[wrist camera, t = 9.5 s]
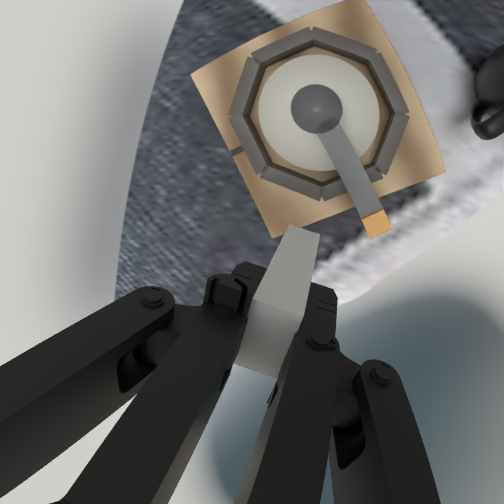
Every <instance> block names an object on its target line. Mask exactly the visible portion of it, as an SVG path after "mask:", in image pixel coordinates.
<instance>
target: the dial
mask: <svg viewBox="0 0 504 504" xmlns="http://www.w3.org/2000/svg"><path fill="white" fill-rule="evenodd" d="M258 113H259V121H260V125H261V129H262V131H263V134H264V136H265V138H266V140H267V141H268V143H269V144H270V146H271V147H272V148H273V149H274V150H275V151H276V153H278V154H279V155H280V156H281V157H282V158H284V159H285V160H287V161H288V162H290V163H292V164H294V165H296V166H298V167H301V168H304V169H308V170H314V171H330V170H335V169H336V170H337V172H338V173H339V175H340V177H341V179H342V181H343V183H344V185H345V187H346V189H347V191H348V193H349V195H350V197H351V199H352V201H353V203H354V205H355V207H356V209H357V211H358V213H359V215H360V217H361V219H362V222H363V224H364V226H365V228H366V230H367V232H368V235H369V237H370V239H371V238H373V237H376V236H378V235H380V234H382V233H384V232H386V231H388V230H391V229H392V228H391V225H390V223H389V221H388V218H387V216H386V214H385V211H384V209H383V207H382V205H381V203H380V201H379V199H378V196H377V194H376V192H375V190H374V188H373V186H372V184H371V182H370V180H369V178H368V176H367V174H366V172H365V170H364V168H363V166H362V164H361V162H360V160H359V158H360V157H361V156H362V155H363V154H364V153H365V152H366V151H367V150H368V148H369V147H370V146H371V144H372V142H373V140H374V138H375V136H376V133H377V130H378V125H379V105H378V101H377V98H376V95H375V92H374V90H373V88H372V86H371V85H370V83H369V82H368V80H367V79H366V78H365V77H364V75H363V74H362V73H361V72H360V71H358V70H357V69H356V68H355V67H353V66H352V65H350V64H349V63H347V62H345V61H343V60H341V59H338V58H335V57H332V56H327V55H306V56H301V57H298V58H294V59H292V60H290V61H288V62H286V63H285V64H283V65H281V66H280V67H279V68H278V69H277V70H275V71H274V72H273V74H272V75H271V76H270V77H269V79H268V80H267V82H266V83H265V85H264V87H263V89H262V92H261V95H260V100H259V108H258Z"/></svg>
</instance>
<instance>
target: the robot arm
mask: <svg viewBox="0 0 504 504" xmlns="http://www.w3.org/2000/svg"><path fill="white" fill-rule="evenodd" d="M319 238H320V234H317V233H314V232H311V231H308V230H305V229H302V228H299V227H296V226H293V225H290V224H289V226H288V228H287V230H286V232H285V234H284V236H283V238H282V240H281V242H280V244H279V246H278V248H277V250H276V252H275V254H274V256H273V258H272V260H271V262H270V265H269V267H268V269H267V268H264V267H261V266H258V265H255V264H252V263H249V262H243V263H241V264H239V265H237V266H236V267H235V269H234V270H233V272H232V273H231V274H216V275H212V276H211V277H209V278H208V279H207V284H206V290H205V296H204V302H203V303H202V305H201V306H186V305H179V304H175V299H174V297H173V295H172V294H171V293H170V292H169V291H168V290H165V289H163V288H161V287H155V286H145V287H141V288H138V289H136V290H134V291H132V292H131V293H129V294H127V295H125V296H123V297H122V298H120V299H118V300H116V301H114V302H112V303H111V304H109V305H107V306H105V307H103V308H102V309H100V310H98V311H96V312H94V313H93V314H91V315H89V316H87V317H86V318H84V319H82V320H80V321H78V322H77V323H75V324H73V325H71V326H69V327H68V328H66V329H64V330H62V331H61V332H59V333H57V334H55V335H53V336H52V337H50V338H48V339H46V340H45V341H43V342H41V343H39V344H38V345H36V346H35V347H33V348H31V349H29V350H27V351H26V352H24V353H22V354H21V355H19V356H17V357H15V358H14V359H12V360H10V361H8V362H7V363H5V364H3V365H2V366H0V498H1V497H3V496H4V495H6V494H7V493H8V492H10V491H11V490H13V489H14V488H16V487H17V486H18V485H20V484H21V483H22V482H24V481H25V480H27V479H28V478H29V477H31V476H32V475H33V474H35V473H36V472H37V471H39V470H40V469H41V468H43V467H44V466H45V465H47V464H48V463H49V462H51V461H52V460H53V459H55V458H56V457H57V456H59V455H60V454H61V453H63V452H64V451H65V450H66V449H68V448H69V447H71V446H72V445H73V444H74V443H76V442H77V441H78V440H80V439H81V438H82V437H83V436H85V435H86V434H87V433H88V432H90V431H91V430H92V429H94V428H95V427H96V426H97V425H99V424H100V423H101V422H102V421H104V420H105V419H106V418H108V417H109V416H110V415H111V414H113V413H114V412H115V411H116V410H118V409H119V408H120V407H121V406H123V405H124V404H125V403H126V402H127V401H129V400H130V399H131V398H133V397H134V396H135V395H136V394H137V395H136V396H135V398H134V399H133V400H132V402H131V403H130V405H129V406H128V407H127V409H126V411H125V412H124V413H123V414H122V416H121V417H120V419H119V420H118V422H117V423H116V424H115V426H114V427H113V429H112V430H111V431H110V433H109V434H108V436H107V437H106V438H105V440H104V441H103V443H102V444H101V446H100V447H99V449H98V450H97V451H96V453H95V454H94V456H93V457H92V458H91V460H90V461H89V463H88V464H87V465H86V467H85V468H84V470H83V471H82V473H81V474H80V476H79V477H78V478H77V480H76V481H75V483H74V484H73V486H72V487H71V488H70V490H69V491H68V493H67V494H66V495H65V496H64V497H63V498H62V499H61V500H60V501H57V502H54V503H50V504H168V502H169V500H170V498H171V496H172V494H173V492H174V490H175V488H176V486H177V484H178V482H179V480H180V478H181V476H182V474H183V472H184V470H185V468H186V466H187V464H188V462H189V460H190V458H191V456H192V454H193V452H194V450H195V448H196V446H197V444H198V441H199V440H200V437H201V435H202V433H203V431H204V429H205V427H206V425H207V423H208V421H209V418H210V416H211V414H212V412H213V410H214V408H215V406H216V404H217V402H218V399H219V397H220V395H221V393H222V391H223V389H224V387H225V384H226V382H227V380H228V378H229V376H230V372H231V369H232V365H233V363H234V364H237V365H239V366H242V367H245V368H248V369H251V370H254V371H256V372H260V373H262V374H265V375H268V376H272V377H275V378H278V379H277V382H276V384H275V386H274V388H273V390H272V393H271V395H270V397H269V399H268V401H267V403H268V407H267V410H266V413H265V416H264V419H263V422H262V425H261V428H260V431H259V434H258V437H257V440H256V443H255V446H254V449H253V452H252V455H251V458H250V461H249V463H248V467H247V469H246V472H245V475H244V478H243V480H242V483H241V486H240V488H239V491H238V494H237V497H236V499H235V502H234V504H320V499H321V494H322V489H323V483H324V478H325V471H326V465H327V459H328V453H329V460H330V469H331V476H332V485H333V494H334V504H441V503H440V499H439V495H438V492H437V488H436V484H435V481H434V477H433V474H432V470H431V467H430V463H429V460H428V457H427V454H426V450H425V447H424V444H423V441H422V438H421V435H420V432H419V429H418V426H417V423H416V420H415V417H414V414H413V412H412V409H411V406H410V403H409V400H408V398H407V395H406V392H405V389H404V387H403V384H402V382H401V379H400V376H399V375H398V373H397V371H396V370H395V369H394V368H393V367H392V366H390V365H389V364H387V363H385V362H383V361H380V360H376V359H374V360H367V361H366V362H364V363H363V364H362V366H361V365H359V364H357V363H355V362H354V361H352V360H350V359H349V358H347V357H346V356H344V355H343V354H342V353H341V352H340V347H339V342H338V340H337V339H336V338H335V331H336V317H337V314H336V313H337V301H338V298H337V296H336V294H335V292H334V290H333V289H331V288H328V287H325V286H322V285H319V284H316V283H313V282H311V279H312V274H313V269H314V264H315V259H316V254H317V248H318V243H319ZM234 361H235V362H234ZM278 375H279V376H278Z"/></svg>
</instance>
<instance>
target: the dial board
mask: <svg viewBox="0 0 504 504" xmlns="http://www.w3.org/2000/svg"><path fill="white" fill-rule="evenodd" d="M306 55H327V56H332V57H335V58H338V59H341V60H343V61H345V62H347V63H349V64H350V65H352V66H353V67H355V68H356V69H357V70H358V71H360V72H361V73H362V74H363V75H364V77H365V78H366V79H367V80H368V82H369V83H370V85H371V86H372V88H373V90H374V92H375V95H376V98H377V101H378V105H379V125H378V130H377V133H376V136H375V138H374V140H373V142H372V144H371V146H370V147H369V148H368V150H367V151H366V152H365V153H364V154H363V155H362V156H361V157H360V158H359V160H360V162H361V164H362V166H363V168H364V170H365V172H366V174H367V176H368V178H369V180H370V182H371V184H372V186H373V188H374V190H375V192H376V194H377V196H378V198H379V197H382V196H384V195H387V194H390V193H392V192H395V191H398V190H400V189H403V188H405V187H408V186H411V185H413V184H416V183H419V182H421V181H424V180H427V179H429V178H432V177H435V176H437V175H440V174H442V173H445V172H446V170H445V167H444V164H443V161H442V158H441V155H440V152H439V149H438V146H437V144H436V141H435V138H434V135H433V133H432V130H431V128H430V125H429V122H428V120H427V117H426V115H425V113H424V110H423V108H422V105H421V103H420V101H419V99H418V96H417V94H416V92H415V90H414V87H413V85H412V83H411V81H410V79H409V77H408V75H407V73H406V71H405V69H404V67H403V65H402V63H401V61H400V59H399V57H398V55H397V53H396V51H395V50H394V48H393V46H392V44H391V42H390V41H389V39H388V37H387V35H386V34H385V32H384V30H383V29H382V27H381V25H380V24H379V22H378V20H377V19H376V17H375V15H374V14H373V12H372V11H371V9H370V8H369V6H368V5H367V3H366V2H365V0H346V1H343V2H340V3H337V4H334V5H332V6H329V7H326V8H323V9H321V10H318V11H316V12H313V13H310V14H308V15H305V16H303V17H301V18H298V19H296V20H293V21H291V22H289V23H286V24H284V25H282V26H280V27H278V28H275V29H273V30H271V31H269V32H267V33H265V34H263V35H261V36H259V37H257V38H255V39H253V40H251V41H249V42H247V43H245V44H243V45H241V46H239V47H237V48H235V49H233V50H231V51H230V52H228V53H226V54H224V55H222V56H221V57H219V58H217V59H215V60H214V61H212V62H210V63H208V64H207V65H205V66H203V67H202V68H200V69H198V70H197V71H195V72H194V73H192V74H190V75H191V77H192V79H193V81H194V83H195V84H196V86H197V88H198V90H199V92H200V94H201V96H202V98H203V100H204V102H205V104H206V106H207V108H208V110H209V112H210V113H211V115H212V117H213V119H214V121H215V123H216V125H217V127H218V129H219V131H220V133H221V135H222V137H223V139H224V141H225V143H226V145H227V147H228V149H229V151H230V153H231V155H232V157H233V159H234V161H235V163H236V165H237V167H238V169H239V171H240V173H241V175H242V177H243V179H244V181H245V183H246V185H247V187H248V189H249V191H250V193H251V195H252V197H253V199H254V201H255V203H256V205H257V208H258V210H259V212H260V214H261V216H262V218H263V220H264V222H265V224H266V226H267V228H268V230H269V232H270V234H271V236H272V238H275V237H278V236H280V235H283V234H285V232H286V230H287V228H288V226H289V224H290V225H293V226H296V227H299V228H301V227H304V226H306V225H309V224H311V223H314V222H317V221H319V220H322V219H324V218H327V217H330V216H332V215H335V214H337V213H340V212H343V211H345V210H348V209H350V208H353V207H355V205H354V203H353V201H352V199H351V197H350V195H349V193H348V191H347V189H346V187H345V185H344V183H343V181H342V179H341V177H340V175H339V173H338V172H337V170H336V169H335V170H330V171H314V170H308V169H304V168H301V167H298V166H296V165H294V164H292V163H290V162H288V161H287V160H285V159H284V158H282V157H281V156H280V155H279V154H278V153H276V151H275V150H274V149H273V148H272V147H271V146H270V144H269V143H268V141H267V140H266V138H265V136H264V134H263V131H262V129H261V125H260V121H259V113H258V108H259V100H260V95H261V92H262V89H263V87H264V85H265V83H266V82H267V80H268V79H269V77H270V76H271V75H272V74H273V72H274V71H275V70H277V69H278V68H279V67H280V66H281V65H283V64H285V63H286V62H288V61H290V60H292V59H294V58H298V57H301V56H306Z"/></svg>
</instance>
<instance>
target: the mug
mask: <svg viewBox="0 0 504 504" xmlns="http://www.w3.org/2000/svg"><path fill="white" fill-rule="evenodd" d="M474 87H475V93H476V96H477V99H478V101H477V102H476V103H475V104H474V105H473V106H472V108H471V125H472V128H473V130H474V132H475V133H476V135H477V136H478V137H480V138H481V139H483V140H490V139H494V138H496V137H497V136H499V135H501V134H502V133H503V132H504V45H502V46H500V47H499V48H497V49H496V50H495V51H494V52H493V53H492V54H491V55H490V56H489V57H488V58H487V59H486V60H485V62H484V63H483V65H482V67H481V68H480V70H479V71H478V72H477V74H476V77H475V82H474ZM486 113H489V114H490V115H492V117H490V118H489V119H487V120H485V121H483V122H481V119H482V117H483V116H484V115H485V114H486Z"/></svg>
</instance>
